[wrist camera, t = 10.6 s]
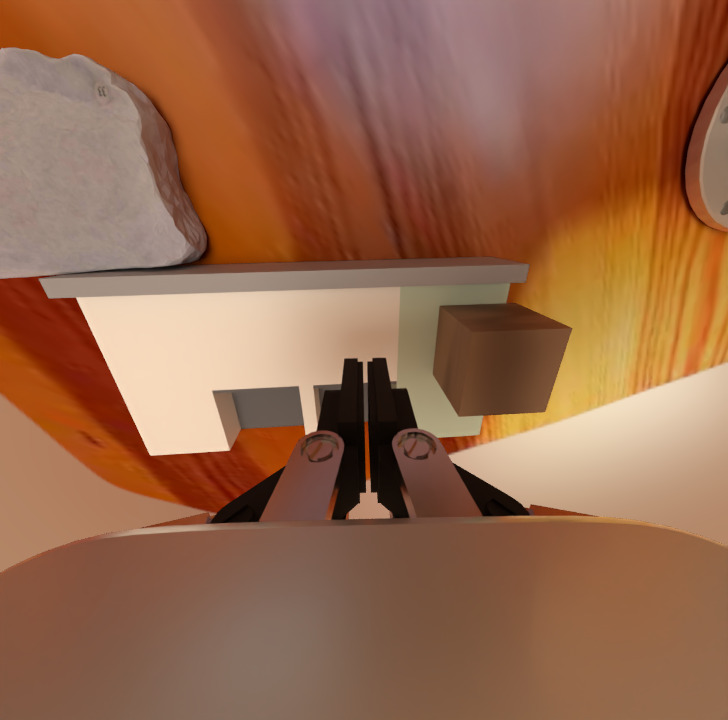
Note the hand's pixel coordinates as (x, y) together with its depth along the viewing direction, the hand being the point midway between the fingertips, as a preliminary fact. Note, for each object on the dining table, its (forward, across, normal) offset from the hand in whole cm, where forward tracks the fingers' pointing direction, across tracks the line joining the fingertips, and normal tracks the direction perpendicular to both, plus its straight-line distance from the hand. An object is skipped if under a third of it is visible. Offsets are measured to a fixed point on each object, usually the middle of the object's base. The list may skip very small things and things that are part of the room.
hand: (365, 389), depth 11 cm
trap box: (+10, +4, +3) cm, 11 cm away
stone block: (+10, +16, -9) cm, 21 cm away
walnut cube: (+8, -7, +1) cm, 11 cm away
